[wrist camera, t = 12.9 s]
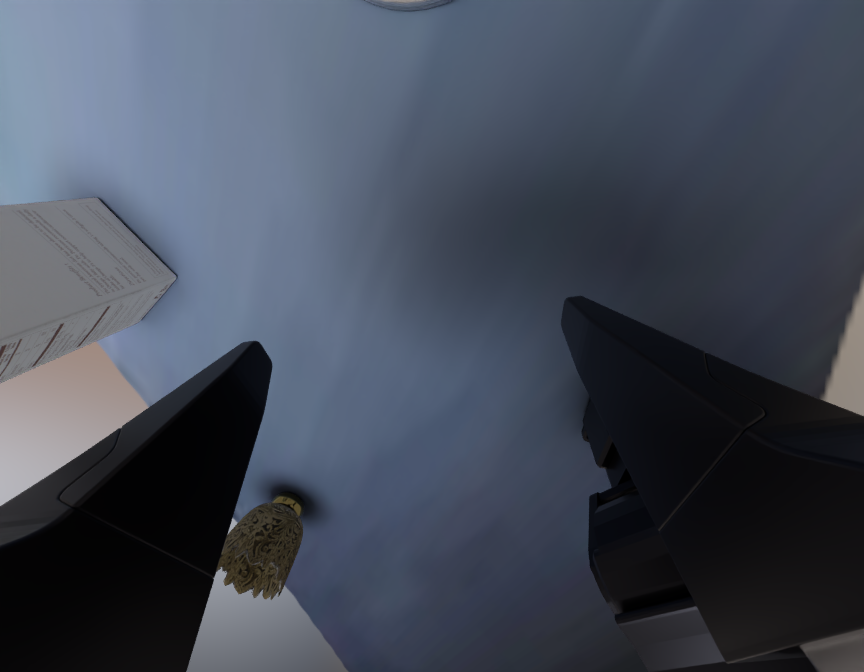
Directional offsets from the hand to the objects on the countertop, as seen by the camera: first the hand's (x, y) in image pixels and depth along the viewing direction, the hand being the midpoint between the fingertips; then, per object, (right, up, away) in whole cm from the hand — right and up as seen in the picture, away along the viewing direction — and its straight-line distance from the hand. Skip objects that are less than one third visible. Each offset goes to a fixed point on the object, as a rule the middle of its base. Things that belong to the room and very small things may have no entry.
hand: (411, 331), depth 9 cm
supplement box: (-24, +6, +16) cm, 29 cm away
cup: (-15, -19, +27) cm, 36 cm away
